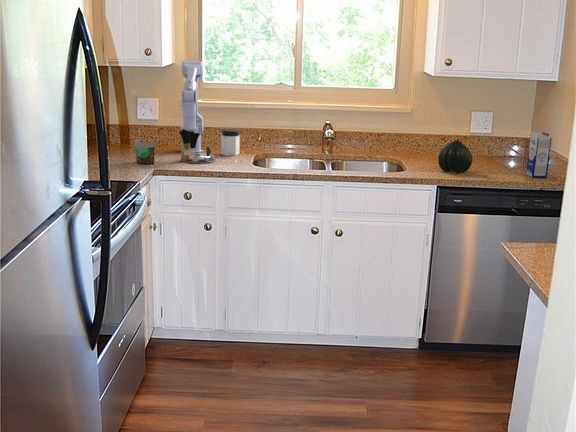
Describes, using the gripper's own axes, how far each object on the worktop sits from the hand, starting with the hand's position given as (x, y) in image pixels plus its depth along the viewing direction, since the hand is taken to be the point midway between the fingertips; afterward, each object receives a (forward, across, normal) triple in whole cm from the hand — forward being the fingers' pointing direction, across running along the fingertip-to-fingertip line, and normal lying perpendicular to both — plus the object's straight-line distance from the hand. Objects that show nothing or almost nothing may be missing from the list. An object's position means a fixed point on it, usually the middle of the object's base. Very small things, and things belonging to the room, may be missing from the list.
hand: (189, 147), depth 299 cm
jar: (+6, +9, -26) cm, 28 cm away
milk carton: (+8, -95, -124) cm, 157 cm away
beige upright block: (+4, +1, +1) cm, 4 cm away
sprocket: (+6, +1, -5) cm, 8 cm away
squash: (+7, -71, -97) cm, 121 cm away
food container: (+7, +6, +21) cm, 23 cm away
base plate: (+6, +1, -5) cm, 8 cm away
